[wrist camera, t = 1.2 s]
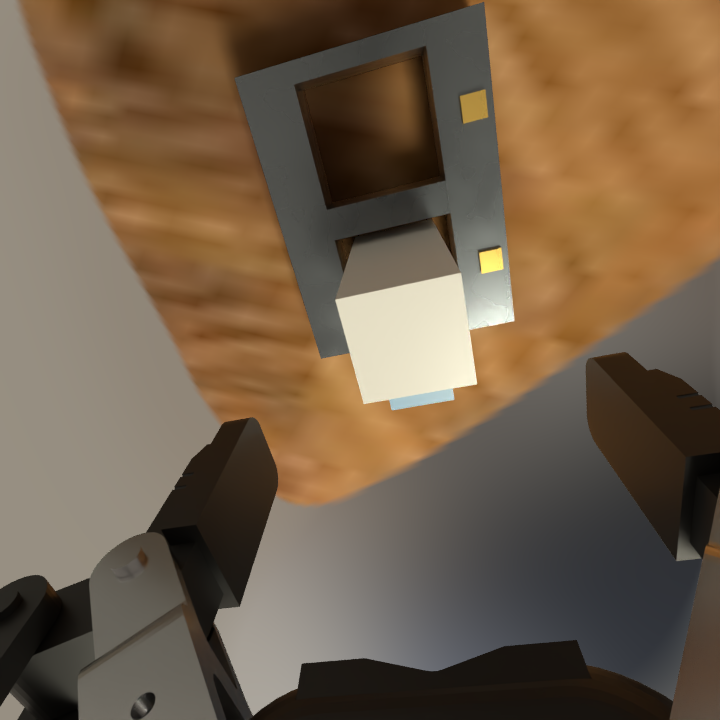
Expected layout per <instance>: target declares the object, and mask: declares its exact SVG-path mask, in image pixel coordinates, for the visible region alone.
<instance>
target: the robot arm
mask: <svg viewBox="0 0 720 720" xmlns="http://www.w3.org/2000/svg"><path fill="white" fill-rule="evenodd" d="M586 396H587V419H588V425H589V429H590V432H591V435H592V437H593V440H594V442H595V443H596V445H597V446H598V448H599V449H600V451H601V452H602V453H603V455H604V456H605V458H606V459H607V461H608V462H609V464H610V465H611V467H612V468H613V469H614V471H615V472H616V474H617V475H618V477H619V478H620V480H621V481H622V483H623V484H624V485H625V487H626V488H627V490H628V491H629V493H630V494H631V496H632V497H633V499H634V500H635V501H636V503H637V504H638V506H639V507H640V509H641V510H642V512H643V513H644V514H645V516H646V517H647V519H648V520H649V522H650V523H651V525H652V526H653V528H654V529H655V531H656V532H657V533H658V535H659V536H660V538H661V539H662V541H663V542H664V544H665V545H666V546H667V548H668V549H669V551H670V552H671V554H672V555H673V557H674V558H675V560H676V561H679V560H680V561H681V560H690V559H699V558H702V559H703V561H702V565H701V571H700V576H699V580H698V585H697V590H696V594H695V599H694V604H693V609H692V614H691V619H690V624H689V628H688V633H687V638H686V642H685V647H684V652H683V657H682V662H681V667H680V671H679V676H678V681H677V686H676V690H675V695H674V700H673V701H672V700H670V699H668V698H667V697H666V696H664V695H662V694H661V693H659V692H657V691H655V690H653V689H651V688H649V687H648V686H646V685H644V684H642V683H640V682H638V681H635V680H633V679H630V678H628V677H625V676H623V675H621V674H618V673H615V672H611V671H608V670H605V669H601V668H598V667H593V666H588V665H586V663H585V661H584V658H583V655H582V653H581V650H580V648H579V645H578V642H577V640H573V641H562V642H549V643H538V644H526V645H515V646H504V647H501V648H499V649H496V650H493V651H491V652H488V653H485V654H483V655H480V656H477V657H475V658H472V659H469V660H467V661H464V662H462V663H459V664H456V665H453V666H451V667H448V668H445V669H443V670H439V671H424V670H419V669H415V668H409V667H405V666H400V665H395V664H390V663H385V662H380V661H375V660H370V659H364V658H363V659H351V660H341V661H340V660H339V661H328V662H317V663H304V664H302V666H301V672H300V678H299V684H298V689H295V690H293V691H290V692H289V693H287V694H285V695H283V696H281V697H279V698H277V699H276V700H274V701H273V702H271V703H270V704H268V705H267V706H266V707H264V708H262V709H261V710H260V711H259V712H258V713H256V714H255V715H254V716H253V715H252V712H251V711H250V708H249V706H248V704H247V702H246V699H245V697H244V694H243V692H242V689H241V686H240V684H239V681H238V679H237V676H236V674H235V671H234V669H233V666H232V664H231V661H230V658H229V656H228V653H227V651H226V648H225V646H224V643H223V641H222V638H221V636H220V633H219V630H218V629H217V627H216V625H215V624H214V619H215V616H216V614H217V611H218V609H222V608H231V607H240V604H241V601H242V598H243V595H244V591H245V588H246V585H247V582H248V579H249V576H250V573H251V569H252V566H253V563H254V560H255V557H256V554H257V551H258V548H259V545H260V541H261V538H262V535H263V532H264V529H265V526H266V523H267V519H268V516H269V513H270V510H271V507H272V504H273V501H274V498H275V494H276V491H277V487H278V473H277V468H276V465H275V462H274V459H273V457H272V454H271V452H270V449H269V447H268V444H267V442H266V439H265V437H264V434H263V432H262V429H261V427H260V425H259V423H258V421H257V420H256V419H255V418H253V417H252V418H246V419H240V420H235V421H229V422H225V423H223V424H222V426H221V427H220V429H219V431H218V433H217V434H216V436H215V438H214V439H213V441H212V443H211V444H208V445H206V446H205V447H204V448H203V449H202V450H201V451H200V452H199V453H198V454H197V455H195V456H194V457H193V458H192V459H191V461H190V463H189V464H188V466H187V467H186V469H185V471H184V472H183V474H182V475H183V477H180V479H179V480H178V482H177V484H176V485H175V490H172V492H171V493H170V495H169V496H168V498H167V500H166V501H165V503H164V504H163V506H162V508H161V510H160V511H159V513H158V514H157V516H156V517H155V519H154V521H153V522H152V524H151V526H150V527H149V529H148V530H147V532H146V533H142V534H139V535H136V536H133V537H131V538H129V539H127V540H125V541H123V542H122V543H120V544H119V545H117V546H116V547H115V548H113V549H112V550H111V551H110V552H108V553H107V554H106V555H105V556H104V557H103V558H102V559H101V561H100V562H99V563H98V564H97V566H96V567H95V569H94V570H93V572H92V574H91V577H90V578H89V579H86V580H83V581H81V582H78V583H76V584H73V585H70V586H68V587H65V588H63V589H60V590H58V591H55V590H54V589H53V588H52V586H51V585H50V584H49V582H48V581H47V580H46V579H45V578H44V577H43V576H40V575H32V576H27V577H24V578H21V579H18V580H16V581H14V582H12V583H10V584H8V585H6V586H4V587H3V588H1V589H0V706H1V705H2V703H3V701H4V700H5V698H6V697H7V695H8V694H9V692H10V693H11V694H12V695H13V696H14V697H15V698H16V699H17V700H18V701H19V702H20V703H21V704H22V705H23V706H24V707H25V708H24V710H23V711H22V713H21V715H20V716H19V718H18V720H720V410H719V409H718V408H716V407H713V406H712V403H710V402H709V401H708V400H707V399H705V398H704V397H703V396H702V395H698V392H697V391H696V390H694V389H693V388H692V387H691V386H689V385H688V384H687V383H686V382H684V381H683V380H682V379H680V378H678V377H675V376H673V375H670V374H668V373H665V372H663V371H660V370H658V369H654V370H649V371H647V370H646V369H645V368H644V367H643V366H641V365H640V364H639V363H638V362H637V361H636V360H635V359H634V358H632V357H631V356H630V355H629V354H628V353H626V352H622V353H616V354H611V355H605V356H600V357H594V358H590V359H588V361H587V363H586Z"/></svg>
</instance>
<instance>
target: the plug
mask: <svg viewBox="0 0 720 720" xmlns="http://www.w3.org/2000/svg"><path fill="white" fill-rule="evenodd" d="M335 301H336V305H337V308H338V312H339V315H340V319H341V323H342V326H343V330H344V334H345V337H346V341H347V344H348V348H349V352H350V355H351V359H352V363H353V366H354V370H355V373H356V377H357V381H358V384H359V388H360V391H361V395H362V399H363V402H364V404H367V403H373V402H378V401H384V400H390V405H391V409H392V410H397V409H403V408H408V407H414V406H420V405H426V404H432V403H438V402H443V401H449V400H454V394H453V389H452V388H458V387H464V386H470V385H475V384H477V380H476V374H475V367H474V360H473V353H472V346H471V339H470V332H469V325H468V318H467V311H466V304H465V297H464V290H463V283H462V276H461V272H460V270H459V268H458V266H457V264H456V263H455V261H454V259H453V257H452V255H451V253H450V251H449V250H448V248H447V246H446V244H445V242H444V240H443V239H442V237H441V235H440V233H439V231H438V229H437V227H436V226H435V224H434V222H433V220H432V219H429V220H425V221H420V222H416V223H412V224H408V225H403V226H399V227H395V228H391V229H386V230H382V231H378V232H374V233H369V234H365V235H361V236H357V237H355V239H354V242H353V245H352V249H351V252H350V255H349V258H348V261H347V264H346V267H345V270H344V274H343V277H342V280H341V283H340V286H339V289H338V292H337V296H336V299H335Z"/></svg>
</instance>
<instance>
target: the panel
mask: <svg viewBox="0 0 720 720" xmlns="http://www.w3.org/2000/svg"><path fill="white" fill-rule="evenodd" d="M420 56H422V61H423V68H424V74H425V81H426V88H427V94H428V101H429V108H430V114H431V121H432V128H433V134H434V141H435V148H436V154H437V161H438V168H439V174H440V176H438V177H434V178H430V179H426V180H422V181H418V182H414V183H410V184H406V185H402V186H398V187H394V188H390V189H386V190H382V191H378V192H374V193H370V194H365V195H361V196H357V197H353V198H349V199H345V200H341V201H337V202H332V198H331V194H330V190H329V186H328V182H327V178H326V174H325V170H324V166H323V162H322V158H321V154H320V150H319V147H318V143H317V139H316V135H315V131H314V127H313V123H312V119H311V115H310V111H309V107H308V103H307V99H306V95H305V91H304V90H307V89H310V88H314V87H317V86H321V85H324V84H327V83H331V82H334V81H338V80H341V79H344V78H348V77H351V76H355V75H358V74H362V73H365V72H368V71H372V70H375V69H379V68H382V67H386V66H389V65H392V64H396V63H399V62H403V61H406V60H410V59H413V58H416V57H420ZM235 81H236V85H237V88H238V91H239V94H240V98H241V101H242V104H243V107H244V111H245V114H246V117H247V120H248V124H249V127H250V130H251V133H252V136H253V140H254V143H255V146H256V149H257V153H258V156H259V159H260V162H261V166H262V169H263V172H264V175H265V179H266V182H267V185H268V188H269V191H270V195H271V198H272V201H273V204H274V208H275V211H276V214H277V217H278V221H279V224H280V227H281V230H282V234H283V237H284V240H285V243H286V246H287V250H288V253H289V256H290V259H291V263H292V266H293V269H294V272H295V276H296V279H297V282H298V285H299V289H300V292H301V295H302V298H303V301H304V305H305V308H306V311H307V314H308V318H309V321H310V324H311V327H312V331H313V334H314V337H315V340H316V344H317V347H318V350H319V353H320V356H321V358H326V357H331V356H337V355H342V354H347V353H350V352H349V348H348V344H347V341H346V337H345V334H344V330H343V326H342V323H341V319H340V315H339V312H338V308H337V305H336V301H335V299H336V296H337V292H338V289H339V286H340V283H341V280H342V277H343V274H344V270H345V267H346V264H347V257H346V253H345V249H344V245H343V241H342V239H343V238H347V237H352V236H356V235H360V234H364V233H369V232H373V231H377V230H381V229H386V228H390V227H394V226H398V225H403V224H407V223H411V222H415V221H420V220H424V219H428V218H432V217H437V216H441V215H445V214H446V221H447V228H448V234H449V241H450V247H451V254H452V257H453V259H454V261H455V263H456V264H457V266H458V268H459V270H460V272H461V276H462V283H463V290H464V297H465V304H466V311H467V318H468V325H469V330H471V329H476V328H481V327H486V326H491V325H496V324H501V323H507V322H512V321H514V313H513V302H512V292H511V281H510V271H509V260H508V250H507V239H506V229H505V218H504V207H503V197H502V186H501V176H500V165H499V155H498V144H497V134H496V123H495V113H494V102H493V92H492V81H491V71H490V60H489V50H488V39H487V29H486V18H485V7H484V2H483V3H479V4H476V5H473V6H469V7H466V8H463V9H460V10H456V11H453V12H450V13H446V14H443V15H440V16H437V17H433V18H430V19H427V20H423V21H420V22H417V23H414V24H410V25H407V26H404V27H400V28H397V29H394V30H391V31H387V32H384V33H381V34H377V35H374V36H371V37H367V38H364V39H361V40H358V41H354V42H351V43H348V44H344V45H341V46H338V47H335V48H331V49H328V50H325V51H321V52H318V53H315V54H312V55H308V56H305V57H302V58H298V59H295V60H292V61H289V62H285V63H282V64H279V65H275V66H272V67H269V68H266V69H262V70H259V71H256V72H252V73H249V74H246V75H243V76H239V77H236V78H235Z"/></svg>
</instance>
